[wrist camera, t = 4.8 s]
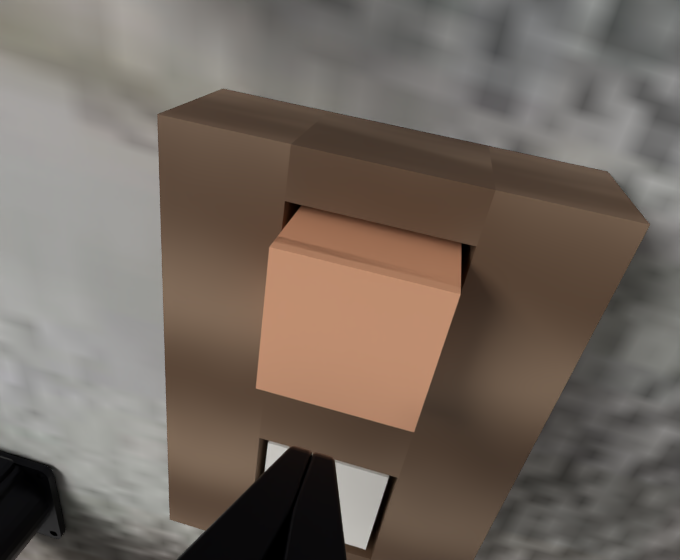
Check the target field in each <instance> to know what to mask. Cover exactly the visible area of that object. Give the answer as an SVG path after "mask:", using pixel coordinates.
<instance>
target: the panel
mask: <svg viewBox="0 0 680 560" xmlns="http://www.w3.org/2000/svg"><path fill="white" fill-rule="evenodd" d="M157 115H158V148H159V180H160V213H161V246H162V278H163V311H164V344H165V376H166V409H167V442H168V474H169V507H170V520H173V521H177V522H180V523H183V524H186V525H189V526H193V527H196V528H199V529H202V530H205V531H206V530H207V529H208V528H209V527H210V526H211V525H212V524H213V523H214V522H215V521H216V520H217V519H218V518H219V517H220V516H221V515H222V514H223V513H224V512H225V511H226V510H227V509H228V508H229V507H230V506H231V505H232V504H233V503H234V502H235V501H236V500H237V499H238V498H239V497H240V496H241V495H242V494H243V493H244V492H245V491H246V490H247V489H248V488H249V487H250V486H251V485H252V484H253V483H254V482H255V481H256V480H257V479H258V478H259V477H260V476H261V475H262V474H263V473H264V472H265V464H266V455H267V447H268V442H269V441H272V442H275V443H279V444H282V445H286V446H289V447H291V446H298V447H301V448H305V449H308V450H310V451H311V452H312V453H315V452H318V453H322V454H325V455H329V456H332V457H333V458H334V460H338V461H341V462H345V463H348V464H352V465H355V466H359V467H362V468H365V469H369V470H372V471H376V472H379V473H383V474H386V475H389V478H388V481H387V484H386V488H385V491H384V494H383V497H382V500H381V503H380V506H379V509H378V512H377V516H376V519H375V522H374V525H373V528H372V531H371V534H370V537H369V540H368V544H367V547H366V550H365V549H362V548H358V547H355V546H352V545H349V544H345V548H346V557H347V560H474V558H475V556H476V554H477V552H478V550H479V548H480V547H481V545H482V543H483V541H484V539H485V537H486V535H487V533H488V531H489V529H490V528H491V526H492V524H493V522H494V520H495V518H496V516H497V514H498V512H499V511H500V509H501V507H502V505H503V503H504V501H505V499H506V497H507V495H508V493H509V492H510V490H511V488H512V486H513V484H514V482H515V480H516V478H517V476H518V474H519V473H520V471H521V469H522V467H523V465H524V463H525V461H526V459H527V457H528V455H529V454H530V452H531V450H532V448H533V446H534V444H535V442H536V440H537V438H538V436H539V435H540V433H541V431H542V429H543V427H544V425H545V423H546V421H547V419H548V417H549V416H550V414H551V412H552V410H553V408H554V406H555V404H556V402H557V400H558V399H559V397H560V395H561V393H562V391H563V389H564V387H565V385H566V383H567V381H568V380H569V378H570V376H571V374H572V372H573V370H574V368H575V366H576V364H577V362H578V361H579V359H580V357H581V355H582V353H583V351H584V349H585V347H586V345H587V343H588V342H589V340H590V338H591V336H592V334H593V332H594V330H595V328H596V326H597V324H598V323H599V321H600V319H601V317H602V315H603V313H604V311H605V309H606V307H607V306H608V304H609V302H610V300H611V298H612V296H613V294H614V292H615V290H616V288H617V287H618V285H619V283H620V281H621V279H622V277H623V275H624V273H625V271H626V269H627V268H628V266H629V264H630V262H631V260H632V258H633V256H634V254H635V252H636V250H637V249H638V247H639V245H640V243H641V241H642V239H643V237H644V235H645V233H646V231H647V230H648V228H649V226H650V224H649V223H648V222H647V220H646V219H645V218H644V217H643V215H642V214H641V213H640V212H639V210H638V209H637V208H636V207H635V205H634V204H633V203H632V202H631V200H630V199H629V198H628V197H627V195H626V194H625V193H624V192H623V190H622V189H621V188H620V187H619V185H618V184H617V183H616V182H615V180H614V179H613V178H612V177H611V175H610V174H609V173H608V172H607V171H602V170H597V169H593V168H588V167H584V166H579V165H574V164H570V163H565V162H560V161H556V160H551V159H546V158H542V157H537V156H533V155H528V154H523V153H519V152H514V151H509V150H505V149H500V148H495V147H491V146H486V145H481V144H477V143H472V142H468V141H463V140H458V139H454V138H449V137H444V136H440V135H435V134H430V133H426V132H421V131H417V130H412V129H407V128H403V127H398V126H393V125H389V124H384V123H379V122H375V121H370V120H365V119H361V118H356V117H352V116H347V115H342V114H338V113H333V112H328V111H324V110H319V109H314V108H310V107H305V106H301V105H296V104H291V103H287V102H282V101H277V100H273V99H268V98H263V97H259V96H254V95H249V94H245V93H240V92H236V91H231V90H226V89H221V90H218V91H216V92H213V93H211V94H208V95H206V96H203V97H200V98H198V99H195V100H193V101H190V102H188V103H185V104H183V105H180V106H177V107H175V108H172V109H170V110H167V111H165V112H162V113H159V114H157ZM301 205H303V206H308V207H312V208H316V209H320V210H325V211H329V212H333V213H337V214H341V215H346V216H350V217H354V218H358V219H363V220H367V221H371V222H375V223H379V224H384V225H388V226H392V227H396V228H401V229H405V230H409V231H413V232H418V233H422V234H426V235H430V236H434V237H439V238H443V239H447V240H451V241H456V242H460V243H462V244H461V295H460V298H459V301H458V304H457V307H456V310H455V313H454V316H453V319H452V321H451V324H450V327H449V330H448V333H447V336H446V339H445V342H444V345H443V348H442V351H441V354H440V357H439V360H438V363H437V366H436V369H435V372H434V375H433V378H432V381H431V384H430V387H429V390H428V393H427V395H426V398H425V401H424V404H423V407H422V410H421V413H420V416H419V419H418V422H417V425H416V428H415V431H414V432H411V431H407V430H403V429H400V428H396V427H393V426H389V425H385V424H382V423H378V422H375V421H371V420H368V419H364V418H360V417H357V416H353V415H350V414H346V413H342V412H339V411H335V410H332V409H328V408H324V407H321V406H317V405H314V404H310V403H307V402H303V401H299V400H296V399H292V398H289V397H285V396H281V395H278V394H274V393H271V392H267V391H263V390H260V389H256V381H257V370H258V360H259V349H260V339H261V328H262V318H263V307H264V297H265V286H266V276H267V265H268V255H269V247H270V245H271V244H272V243H273V241H274V240H275V239H276V238H277V236H278V235H279V234H280V232H281V231H282V230H283V229H284V227H285V226H286V225H287V223H288V222H289V221H290V220H291V218H292V217H293V216H294V214H295V213H296V212H297V211H298V209H299V208H300V207H301Z"/></svg>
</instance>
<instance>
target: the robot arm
mask: <svg viewBox="0 0 680 560" xmlns="http://www.w3.org/2000/svg"><path fill="white" fill-rule="evenodd" d="M36 533H40V534H43V535H47V536H50V537H53V538H56V539H60V538H61V537H62V535H63V534H64V533H65V526H64V521H63V516H62V512H61V507H60V502H59V498H58V493H57V488H56V484H55V479H54V474H53V471H52V470H51V469H50V468H49V467H47V466H45V465H43V464H40V463H36V462H33V461H30V460H27V459H23V458H20V457H17V456H14V455H10V454H7V453H4V452H1V451H0V560H15V559H16V558H17V556H18V555H19V554H20V553H21V551H22V550H23V549H24V548H25V546H26V545H27V544H28V543H29V541H30V540H31V539H32V538H33V536H34V535H35V534H36ZM176 560H347V557H346V548H345V540H344V532H343V524H342V515H341V507H340V499H339V491H338V482H337V474H336V466H335V460H334V458H333V457H332V456H329V455H325V454H322V453H318V452H315V453H313V454H312V452H311V451H310V450H308V449H305V448H301V447H298V446H291V447H290V448H288V449H287V450H286V451H285V452H284V453H283V454H282V455H281V456H280V457H279V458H278V459H277V460H276V461H275V462H274V463H273V464H272V465H271V466H270V467H269V468H268V469H267V470H266V471H265V472H264V473H263V474H262V475H261V476H260V477H259V478H258V479H257V480H256V481H255V482H254V483H253V484H252V485H251V486H250V487H249V488H248V489H247V490H246V491H245V492H244V493H243V494H242V495H241V496H240V497H239V498H238V499H237V500H236V501H235V502H234V503H233V504H232V505H231V506H230V507H229V508H228V509H227V510H226V511H225V512H224V513H223V514H222V515H221V516H220V517H219V518H218V519H217V520H216V521H215V522H214V523H213V524H212V525H211V526H210V527H209V528H208V529H207V530H206V531H205V532H204V533H203V534H202V535H201V536H200V537H199V538H198V539H197V540H196V541H195V542H194V543H193V544H192V545H191V546H190V547H189V548H188V549H187V550H186V551H185V552H184V553H183V554H182V555H180V556H179V557H178V558H177V559H176Z"/></svg>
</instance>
